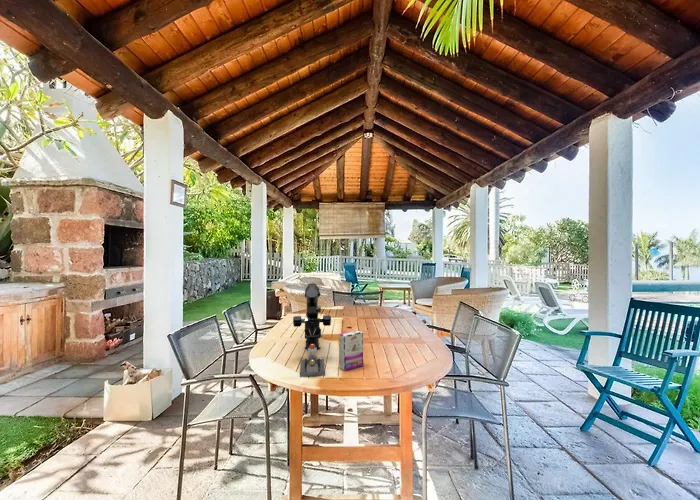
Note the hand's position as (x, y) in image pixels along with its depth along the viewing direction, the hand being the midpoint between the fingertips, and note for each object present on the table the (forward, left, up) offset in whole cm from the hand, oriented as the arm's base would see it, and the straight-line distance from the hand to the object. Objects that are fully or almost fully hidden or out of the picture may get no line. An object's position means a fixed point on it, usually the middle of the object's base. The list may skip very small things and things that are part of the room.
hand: (312, 336), depth 166 cm
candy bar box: (-11, +16, -14) cm, 24 cm away
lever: (+5, +7, -11) cm, 14 cm away
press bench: (+5, +7, -14) cm, 16 cm away
